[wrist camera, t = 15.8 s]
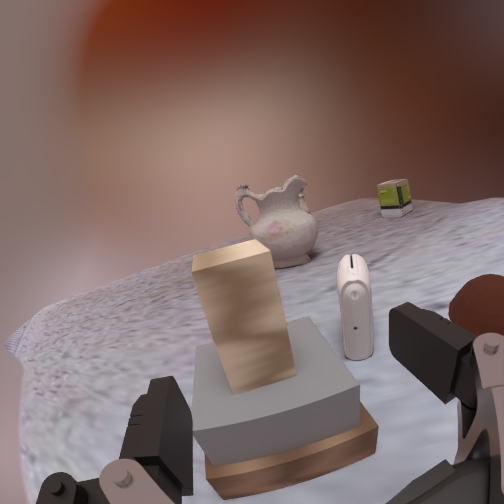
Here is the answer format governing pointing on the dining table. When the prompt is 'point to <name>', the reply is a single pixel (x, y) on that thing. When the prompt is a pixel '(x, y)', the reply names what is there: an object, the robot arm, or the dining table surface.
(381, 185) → the tea box
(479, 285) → the muffin
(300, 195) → the candle holder
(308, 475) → the walnut base block
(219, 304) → the birch pillar block
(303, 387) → the slate top block
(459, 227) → the dining table surface
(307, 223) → the ceramic pitcher
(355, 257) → the photo printer
